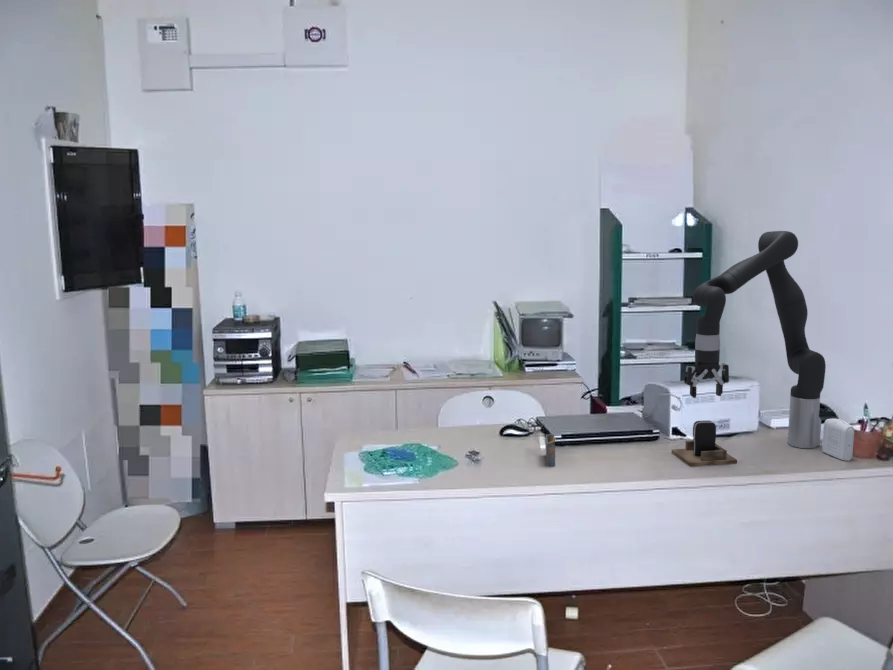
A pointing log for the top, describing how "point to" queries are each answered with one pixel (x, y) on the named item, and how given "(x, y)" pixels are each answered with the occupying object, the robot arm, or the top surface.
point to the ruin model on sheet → (550, 450)
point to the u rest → (703, 456)
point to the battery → (704, 436)
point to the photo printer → (838, 439)
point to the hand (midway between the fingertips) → (706, 396)
